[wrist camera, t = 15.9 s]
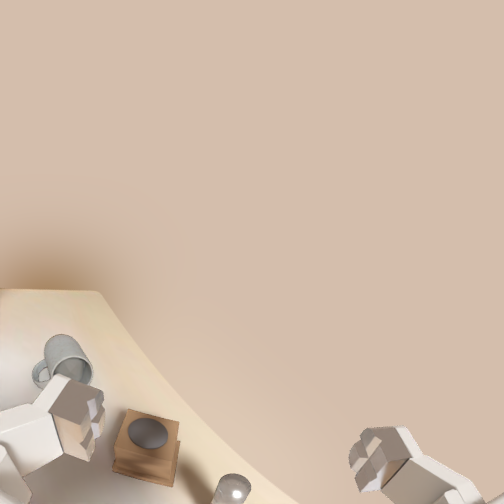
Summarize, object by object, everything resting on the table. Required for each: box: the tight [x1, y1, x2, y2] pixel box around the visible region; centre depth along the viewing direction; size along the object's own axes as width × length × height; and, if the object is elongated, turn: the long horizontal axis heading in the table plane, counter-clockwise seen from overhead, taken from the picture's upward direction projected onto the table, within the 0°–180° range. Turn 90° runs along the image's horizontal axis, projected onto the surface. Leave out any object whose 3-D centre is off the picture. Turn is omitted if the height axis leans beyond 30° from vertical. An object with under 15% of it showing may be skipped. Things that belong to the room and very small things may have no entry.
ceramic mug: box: [32, 334, 93, 389], centre depth 38 cm, size 11×8×8 cm
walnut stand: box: [112, 409, 180, 487], centre depth 31 cm, size 8×8×6 cm
